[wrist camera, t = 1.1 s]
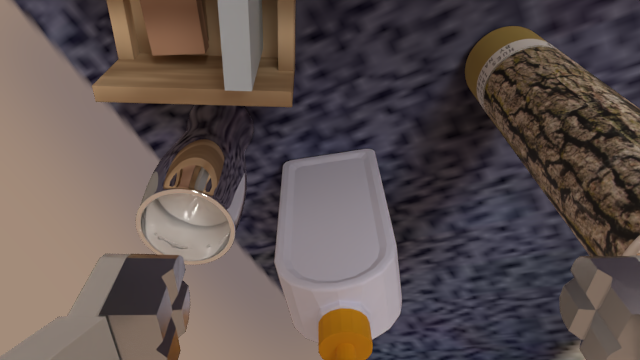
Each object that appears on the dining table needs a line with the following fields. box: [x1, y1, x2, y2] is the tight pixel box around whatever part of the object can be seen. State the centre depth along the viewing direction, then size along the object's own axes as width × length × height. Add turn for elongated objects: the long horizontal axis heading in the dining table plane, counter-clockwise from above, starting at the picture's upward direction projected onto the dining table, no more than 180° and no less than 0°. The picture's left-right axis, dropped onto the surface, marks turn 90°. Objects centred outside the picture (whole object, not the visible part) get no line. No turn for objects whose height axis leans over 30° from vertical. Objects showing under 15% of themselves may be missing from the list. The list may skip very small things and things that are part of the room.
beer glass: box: [136, 104, 254, 265], centre depth 37 cm, size 7×7×15 cm
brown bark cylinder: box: [465, 26, 640, 256], centre depth 30 cm, size 7×7×25 cm
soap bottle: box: [274, 149, 402, 360], centre depth 38 cm, size 9×7×23 cm
